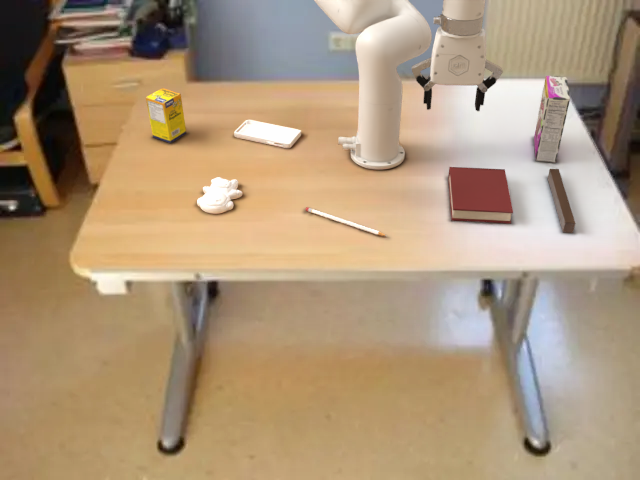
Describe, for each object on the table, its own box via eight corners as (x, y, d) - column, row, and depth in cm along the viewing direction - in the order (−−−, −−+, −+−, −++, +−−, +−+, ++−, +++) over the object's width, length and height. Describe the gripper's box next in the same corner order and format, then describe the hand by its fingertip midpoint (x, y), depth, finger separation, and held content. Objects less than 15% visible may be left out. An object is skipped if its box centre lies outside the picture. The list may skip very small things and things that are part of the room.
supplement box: (187, 133, 174) (181, 93, 167) (170, 144, 170) (164, 103, 163) (168, 127, 177) (162, 87, 170) (152, 137, 173) (145, 97, 166)
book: (451, 220, 145) (453, 208, 143) (448, 178, 158) (449, 166, 156) (510, 223, 144) (513, 211, 142) (502, 180, 157) (504, 169, 155)
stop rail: (562, 232, 142) (565, 222, 140) (547, 177, 158) (549, 168, 156) (572, 232, 142) (575, 222, 140) (556, 178, 157) (558, 168, 156)
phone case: (302, 134, 173) (247, 123, 178) (301, 129, 173) (247, 118, 177) (289, 149, 168) (233, 137, 173) (289, 144, 167) (233, 132, 172)
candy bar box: (532, 137, 172) (545, 74, 161) (553, 139, 171) (567, 76, 161) (533, 161, 163) (547, 96, 153) (556, 163, 162) (571, 98, 152)
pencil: (307, 209, 148) (307, 206, 148) (387, 236, 141) (387, 233, 141) (305, 211, 148) (305, 208, 147) (385, 238, 140) (385, 235, 140)
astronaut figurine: (249, 186, 156) (248, 175, 154) (226, 217, 147) (225, 205, 145) (213, 179, 158) (212, 168, 156) (188, 209, 149) (187, 197, 147)
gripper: (415, 30, 129) (409, 114, 139) (511, 32, 127) (498, 117, 138) (414, 15, 135) (409, 97, 145) (506, 17, 133) (494, 100, 144)
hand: (452, 107), depth 141 cm, fingers open, 9 cm apart
